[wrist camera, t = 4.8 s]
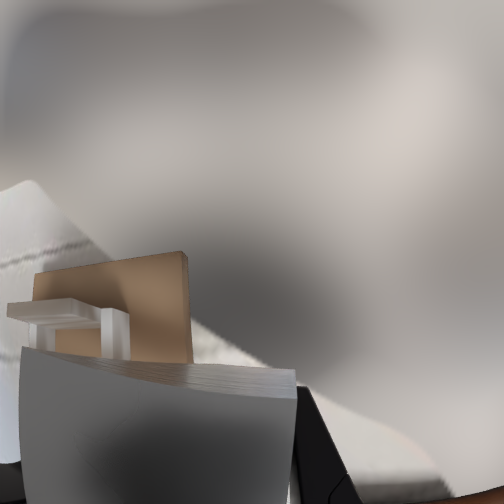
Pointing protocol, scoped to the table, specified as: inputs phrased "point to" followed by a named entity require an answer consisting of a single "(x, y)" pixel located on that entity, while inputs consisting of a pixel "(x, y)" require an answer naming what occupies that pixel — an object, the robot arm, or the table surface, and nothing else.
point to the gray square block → (153, 431)
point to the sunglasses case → (475, 498)
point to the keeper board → (113, 310)
